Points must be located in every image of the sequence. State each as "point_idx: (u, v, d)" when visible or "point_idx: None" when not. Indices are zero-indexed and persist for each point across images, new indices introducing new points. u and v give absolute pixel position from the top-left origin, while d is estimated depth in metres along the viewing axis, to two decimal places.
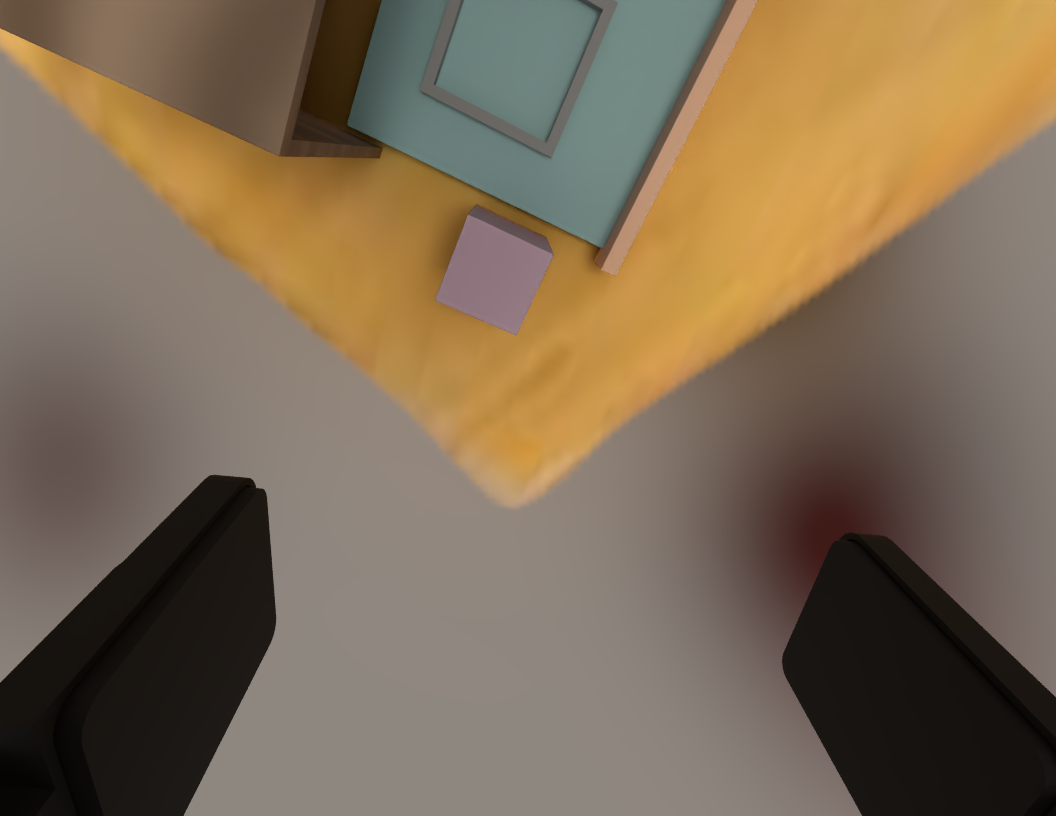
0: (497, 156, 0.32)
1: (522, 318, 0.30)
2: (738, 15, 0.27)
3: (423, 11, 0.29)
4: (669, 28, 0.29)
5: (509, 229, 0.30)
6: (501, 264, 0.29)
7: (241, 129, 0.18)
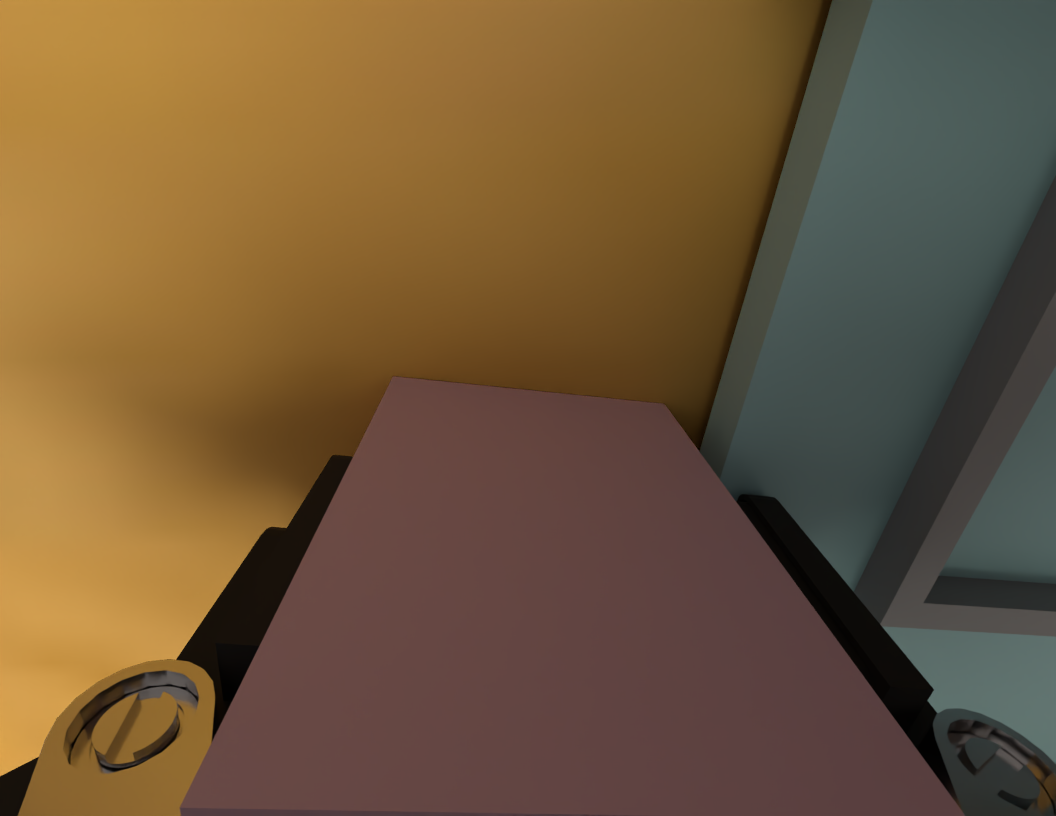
0: (847, 457, 0.09)
1: None
2: None
3: None
4: None
5: None
6: None
7: None
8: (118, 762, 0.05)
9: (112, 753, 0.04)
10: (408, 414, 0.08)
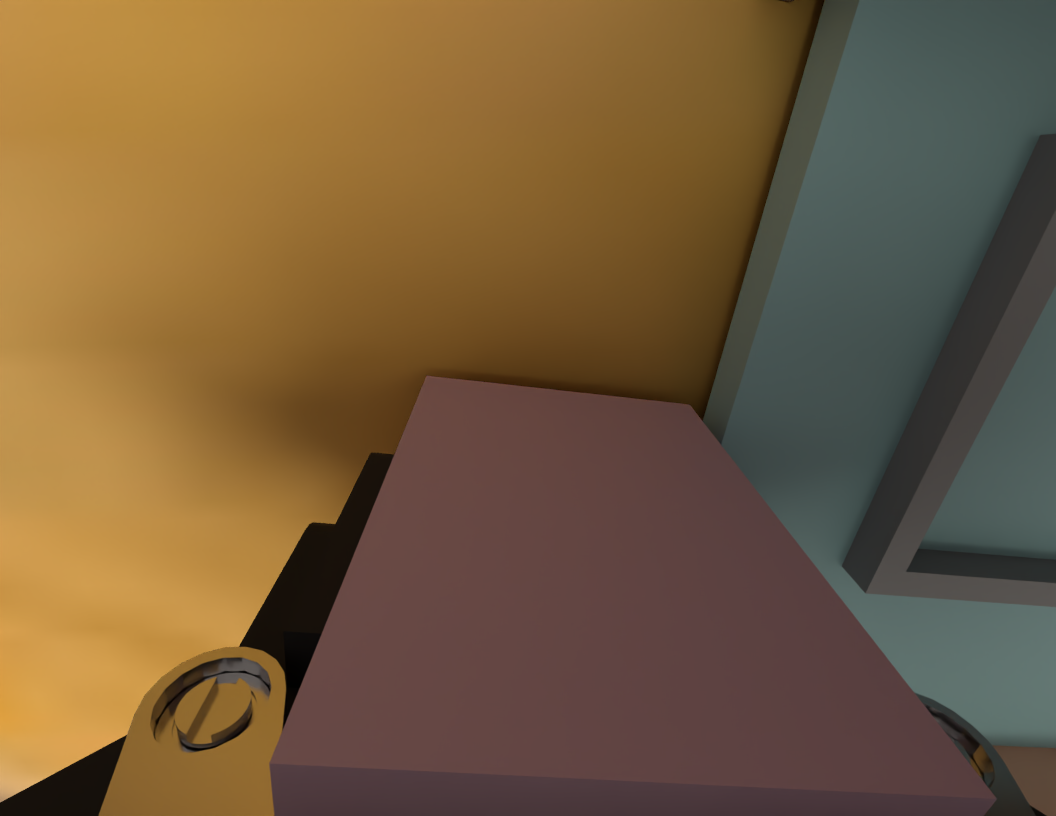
0: (835, 436, 0.10)
1: None
2: None
3: None
4: None
5: None
6: None
7: None
8: (195, 742, 0.05)
9: (192, 733, 0.05)
10: (444, 411, 0.08)
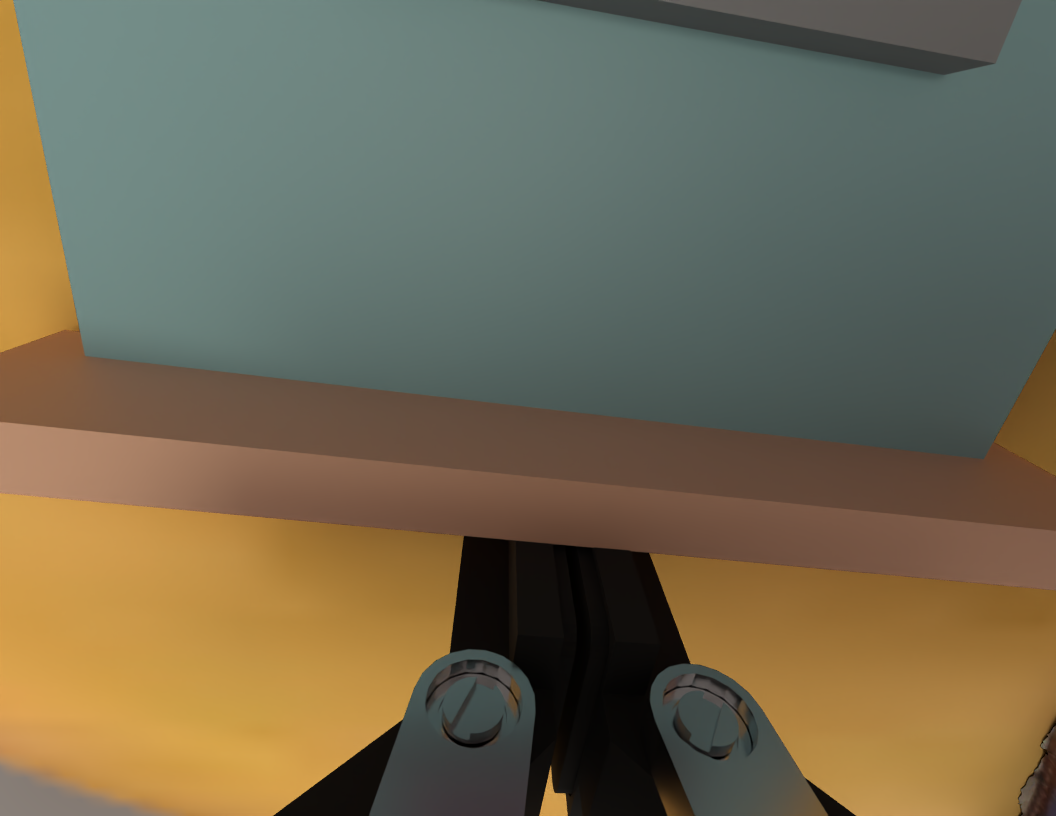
0: None
1: None
2: (992, 551, 0.07)
3: None
4: (875, 315, 0.08)
5: None
6: None
7: None
8: (454, 731, 0.05)
9: (455, 724, 0.05)
10: None
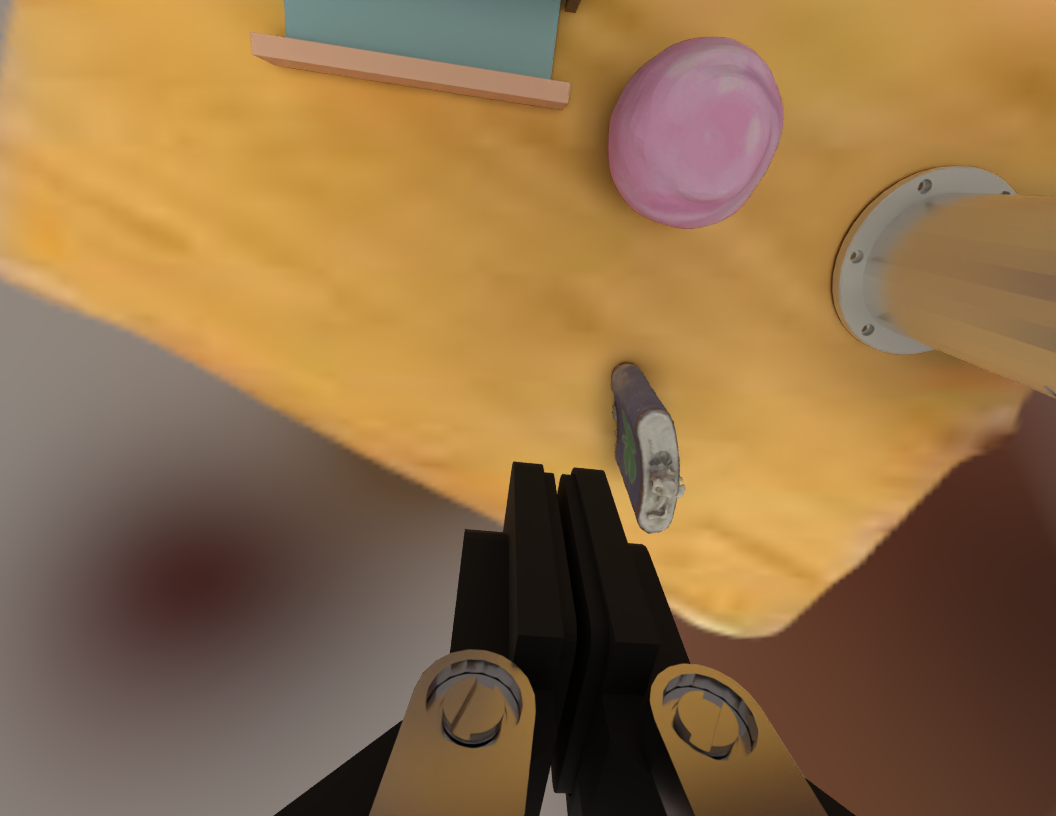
0: None
1: None
2: (522, 84, 0.29)
3: None
4: (502, 32, 0.30)
5: None
6: None
7: None
8: (453, 733, 0.05)
9: (455, 724, 0.05)
10: None
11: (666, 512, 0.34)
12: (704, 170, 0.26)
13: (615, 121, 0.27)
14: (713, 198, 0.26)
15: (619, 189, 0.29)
